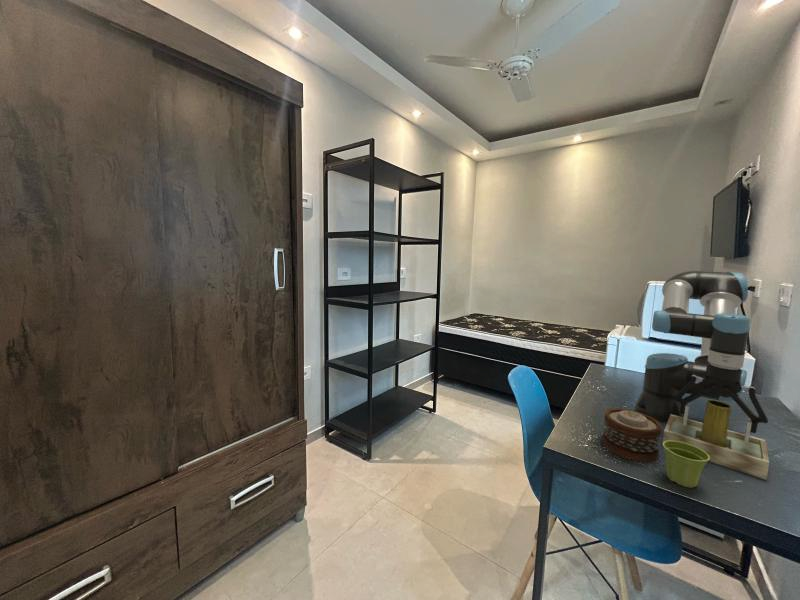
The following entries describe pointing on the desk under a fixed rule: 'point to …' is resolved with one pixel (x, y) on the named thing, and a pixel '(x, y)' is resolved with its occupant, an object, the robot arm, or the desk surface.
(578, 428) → the desk surface
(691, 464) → the plant pot
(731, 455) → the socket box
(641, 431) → the spiked roller
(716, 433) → the vase
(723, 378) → the robot arm
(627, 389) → the desk surface
